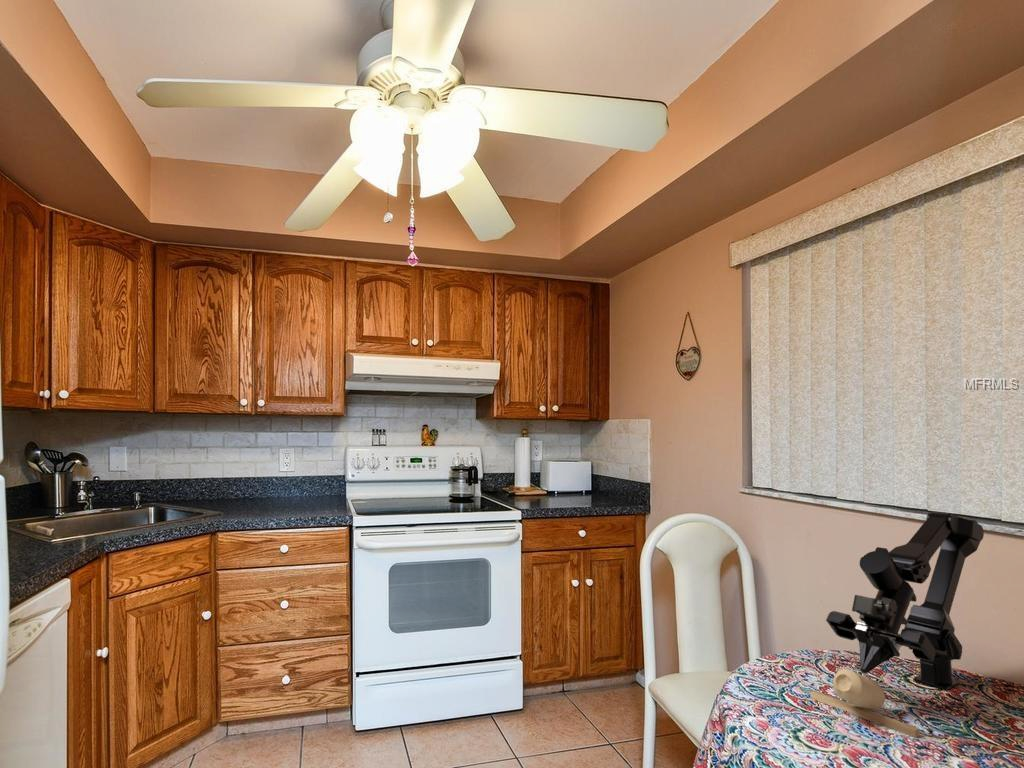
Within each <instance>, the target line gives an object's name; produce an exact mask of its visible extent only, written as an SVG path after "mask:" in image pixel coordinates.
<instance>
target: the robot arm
mask: <svg viewBox="0 0 1024 768" xmlns="http://www.w3.org/2000/svg"><path fill="white" fill-rule="evenodd" d="M984 533H985V532H984V527H983V526H982V525H981V524H979V523H978V521H977V520H976V519H972V518H971V519H970V518H963V517H960V516H957V515H956V514H953V513H951V512H950V513H949V512H941V511H939V512H937V511H932V512H928V513H927V515H926V520H925V521H924V522H923V523H922V524H921V526H920V527H919V529H918V530H916V532H915V533H914V534H913V536H912V537H911V538H910V539H909V541H908V542H907V543H906V544H901V545H898V546H895V547H894V548H892V549H891V550H889V549H887V548H885V547H880V546H877V547H876V548H875V550H873V551H869V552H867V553H866V554H864V555H863V556H861V557H860V559H859V567H860V569H861V570H862V572H863V573H864V575H865V577H866V578H867V579H868V580H869V582H870V584H871V585H872V587H873V588H875V589H876V590H877V594H876V596H875V597H869V596H863V595H859V594H854V596H853V597H854V599H853V603H852V607H851V611H852V612H854V613H855V612H856V613H857V614H859V616H858V618H859V619H860V620H861V621H862V622H860V621H856V622H855V620H854V619H853V617H852V616H851V615H850V614H849V613H844V612H840V611H837V610H836V611H835V610H832V611H830V612H829V613H828V615H827V617H826V619H825V621H826V623H827V624H828V625H829V627H830V628H831V629H832V631H833V632H834V634H836V636H838V637H839V638H842V639H846V640H849V641H854V640H857V641H858V645H859V671H861V673H863V674H868V673H870V672H872V671H873V670H874V669H876V668H878V667H879V666H880V665H881V664H884V663H885V662H886V661H889V660H890V659H892V658H894V657H897V658H898V657H900V655H901V654H900V652H899V651H900V648H901V647H903V646H904V647H907V648H908V649H909V650H911V651H912V652H911V653H912V654H913V655H914V657H915V658H916V659H917V660H919V670H920V674H919V675H916V676H914V677H913V681H915V682H919V683H921V684H926V685H929V686H931V687H935V688H938V689H942V690H949V689H951V688H953V687H955V686H958V685H961V682H960V680H958V679H954V678H953V670H952V668H953V667H952V661H954V660H961V659H962V658H961V657H962V655H963V645H962V644H961V642H960V640H959V639H958V637H957V636H956V635H955V630H956V628H955V626H954V624H953V621H952V618H951V616H950V613H951V610H952V606H953V602H954V599H955V596H956V593H957V588H958V586H959V582H960V578H961V574H962V571H963V568H964V564H965V561H966V558H968V557H969V556H970V555H972V554H974V553H976V552H977V551H978V548H979V546H980V543H981V542H982V540H983V539H984V535H985V534H984ZM939 548H940V549H939ZM938 550H939V553H938V554H937V555H938V556H937V559H936V563H935V565H934V569H933V571H932V567H931V565H930V561H931V559H932V558H933V556H934V555H935V554H936V552H937V551H938ZM931 571H932V574H931V579H930V582H929V585H928V588H927V591H926V595H925V598H924V601H923V603H922V604H920V605H916V604H913V605H912V606H911V607H910V609H909V610H910V611H909V614H908V616H907V618H906V617H905V616H906V614H907V611H908V608H909V606H910V605H911V604H910V603H911V602H917V595H916V594H915V591H914V588H913V587H912V586H911V584H910V583H915V584H920V585H922V584H923V583H925V582H926V580H927V579H928V578H929V575H930V573H931ZM902 625H904V628H903V629H901V626H902ZM900 629H901V632H900V633H899V631H900Z"/></svg>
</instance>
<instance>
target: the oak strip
mask: <svg viewBox="0 0 1024 768" xmlns="http://www.w3.org/2000/svg"><path fill="white" fill-rule="evenodd" d="M809 693H810V699H812V700H815V701H818V702H819V703H822V704H826V705H827V706H828V705H829V706H831V707H833V708H836V709H839V710H841V711H843V712H846V711H847V713H849V714H852V715H854V716H858V717H860V718H863V719H865V720H868V721H870V720H871V721H870V722H873V721H874V722H873V723H875V722H877V723H876V724H878V723H879V724H878V725H881V724H882V725H881V726H883V725H884V727H886V726H887V727H886V728H889V727H890V728H889V729H891V728H892V729H891V730H894V729H895V731H897V732H900V733H902V734H905V735H908V736H910V737H914V738H915V737H916V738H918V737H920V736H921V735H920V733H921V732H920V731H921V730H920V728H918V727H916V726H913V725H910V724H908V723H905V722H902V721H899V720H897V719H894V718H891V717H888V716H885V715H884V714H880V713H878V712H876V711H870V710H867V709H864V708H861V707H859V706H857V705H854V704H852V703H850V702H848V701H845V700H843V699H840V698H836V697H835V696H832V695H828V694H826V693H822V692H820V691H817V690H812V691H810V692H809Z"/></svg>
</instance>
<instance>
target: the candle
mask: <svg viewBox="0 0 1024 768" xmlns="http://www.w3.org/2000/svg"><path fill="white" fill-rule="evenodd" d="M832 688H833V690H834V692H835V694H836V695H837V696H838V698H839V699H840V700H842V701H845V702H848V703H850V704H853V705H856V706H859V707H861V708H864V709H867V710H870V711H872V712H876V711H878V710H880V709H881V708H883V705H884V704H885V700H886V696H885V692H884V689H883V688H882V686H881V685H879V684H878V683H877V682H875V681H874V680H871V679H870V678H868V677H865V676H864V675H862V674H860V673H858V672H855V671H853V670H851V669H847V668H846V669H845V668H843V669H841V670H838V671H837V672H836V673H835V674H834V676H833V680H832Z"/></svg>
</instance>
